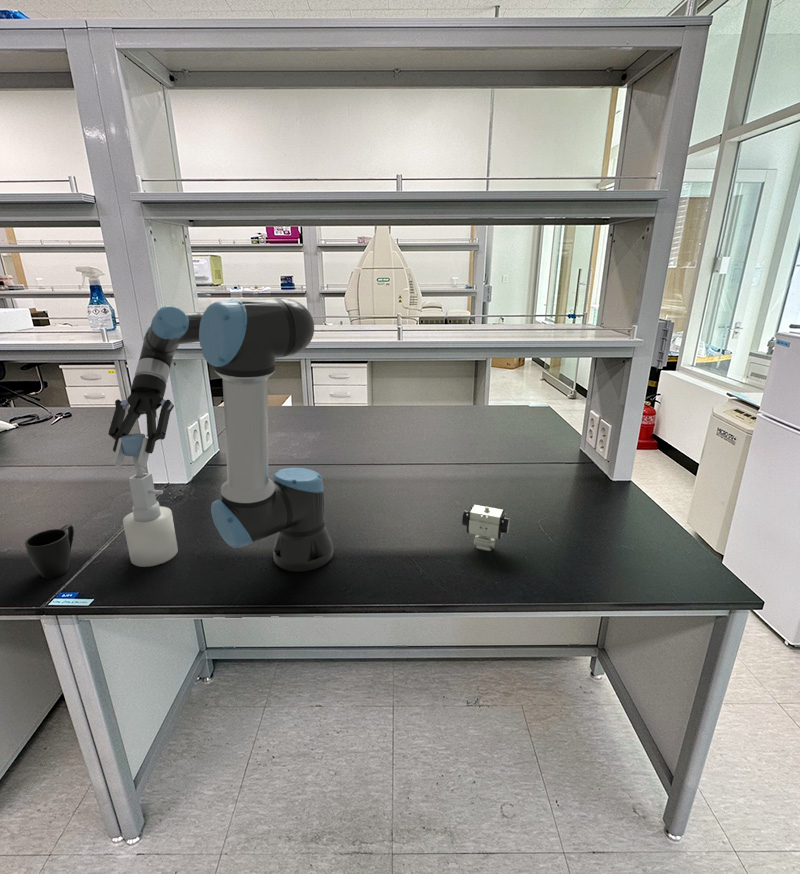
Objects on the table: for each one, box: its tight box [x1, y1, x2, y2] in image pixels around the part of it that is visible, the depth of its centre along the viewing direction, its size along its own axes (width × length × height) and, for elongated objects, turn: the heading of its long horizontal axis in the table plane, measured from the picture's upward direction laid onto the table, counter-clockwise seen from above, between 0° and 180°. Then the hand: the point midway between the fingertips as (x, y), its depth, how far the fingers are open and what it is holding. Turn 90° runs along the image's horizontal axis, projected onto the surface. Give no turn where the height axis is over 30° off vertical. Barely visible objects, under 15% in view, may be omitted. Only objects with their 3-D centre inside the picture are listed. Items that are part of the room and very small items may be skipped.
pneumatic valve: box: [461, 504, 511, 552], centre depth 127 cm, size 6×12×12 cm, turn 69°
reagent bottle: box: [122, 472, 179, 568], centre depth 122 cm, size 11×11×22 cm
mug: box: [24, 524, 75, 580], centre depth 118 cm, size 8×12×10 cm
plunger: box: [121, 432, 146, 479], centre depth 117 cm, size 5×5×13 cm
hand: (129, 465), depth 113 cm, fingers closed on plunger, 5 cm apart
